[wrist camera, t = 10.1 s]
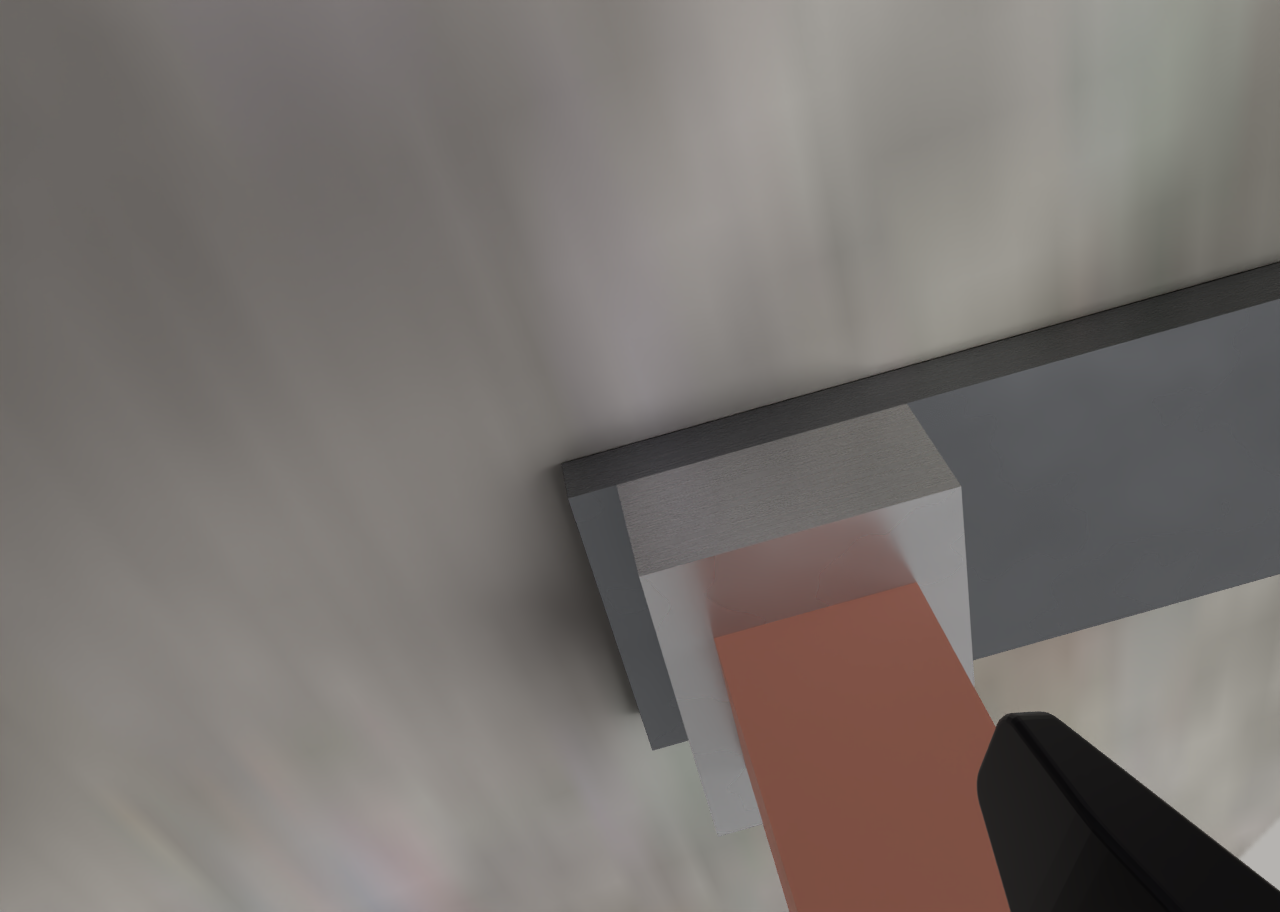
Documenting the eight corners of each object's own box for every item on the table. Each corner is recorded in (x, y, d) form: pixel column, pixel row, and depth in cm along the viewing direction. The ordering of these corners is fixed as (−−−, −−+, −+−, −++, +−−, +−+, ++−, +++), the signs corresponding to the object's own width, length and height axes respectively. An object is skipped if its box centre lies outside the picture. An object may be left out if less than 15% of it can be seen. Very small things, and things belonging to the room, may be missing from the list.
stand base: (644, 712, 28) (674, 849, 25) (561, 464, 24) (585, 591, 21) (1263, 539, 29) (1371, 652, 25) (1303, 255, 24) (1442, 351, 21)
